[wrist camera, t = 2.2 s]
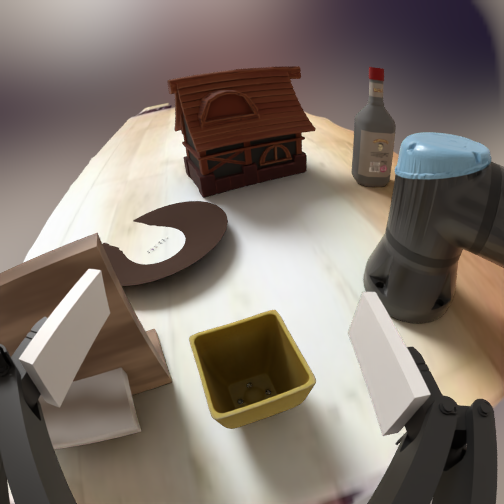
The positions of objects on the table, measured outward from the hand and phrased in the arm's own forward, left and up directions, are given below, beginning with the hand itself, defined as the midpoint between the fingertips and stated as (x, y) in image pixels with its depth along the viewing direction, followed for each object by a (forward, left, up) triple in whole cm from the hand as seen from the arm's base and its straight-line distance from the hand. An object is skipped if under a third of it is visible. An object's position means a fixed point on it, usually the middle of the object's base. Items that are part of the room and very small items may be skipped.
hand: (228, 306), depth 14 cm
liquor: (+1, -65, -20) cm, 68 cm away
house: (+34, -57, -20) cm, 69 cm away
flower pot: (+2, -3, -20) cm, 20 cm away
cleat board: (+17, +9, -20) cm, 28 cm away
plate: (+32, -20, -20) cm, 43 cm away
